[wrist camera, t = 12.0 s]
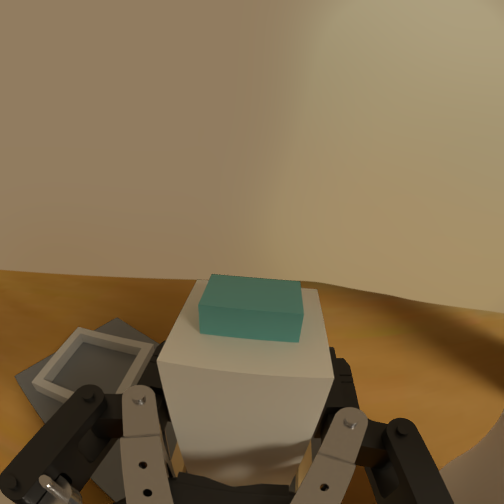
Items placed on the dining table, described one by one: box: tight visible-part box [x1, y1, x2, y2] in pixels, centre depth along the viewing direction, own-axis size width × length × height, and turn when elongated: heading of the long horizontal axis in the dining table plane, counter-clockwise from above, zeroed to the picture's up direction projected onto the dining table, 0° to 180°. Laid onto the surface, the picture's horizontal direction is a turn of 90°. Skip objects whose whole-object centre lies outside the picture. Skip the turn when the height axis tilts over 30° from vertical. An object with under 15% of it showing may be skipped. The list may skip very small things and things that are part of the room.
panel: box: [15, 318, 321, 502], centre depth 17 cm, size 13×25×2 cm, turn 60°
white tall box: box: [157, 274, 334, 487], centre depth 11 cm, size 4×4×13 cm
